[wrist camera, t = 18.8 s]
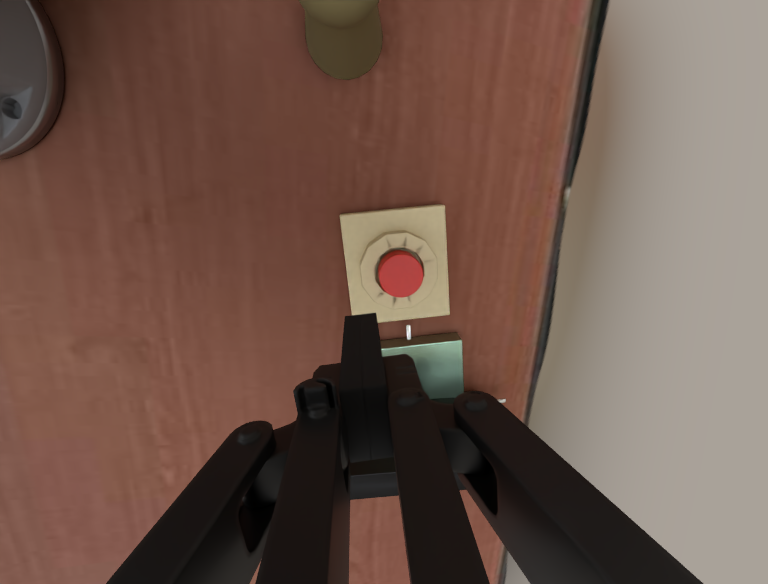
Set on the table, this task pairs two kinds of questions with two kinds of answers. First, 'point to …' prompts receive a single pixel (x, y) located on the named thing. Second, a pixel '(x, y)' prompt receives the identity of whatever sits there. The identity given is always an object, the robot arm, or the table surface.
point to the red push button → (400, 274)
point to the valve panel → (433, 362)
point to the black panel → (380, 475)
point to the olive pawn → (343, 35)
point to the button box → (391, 233)
